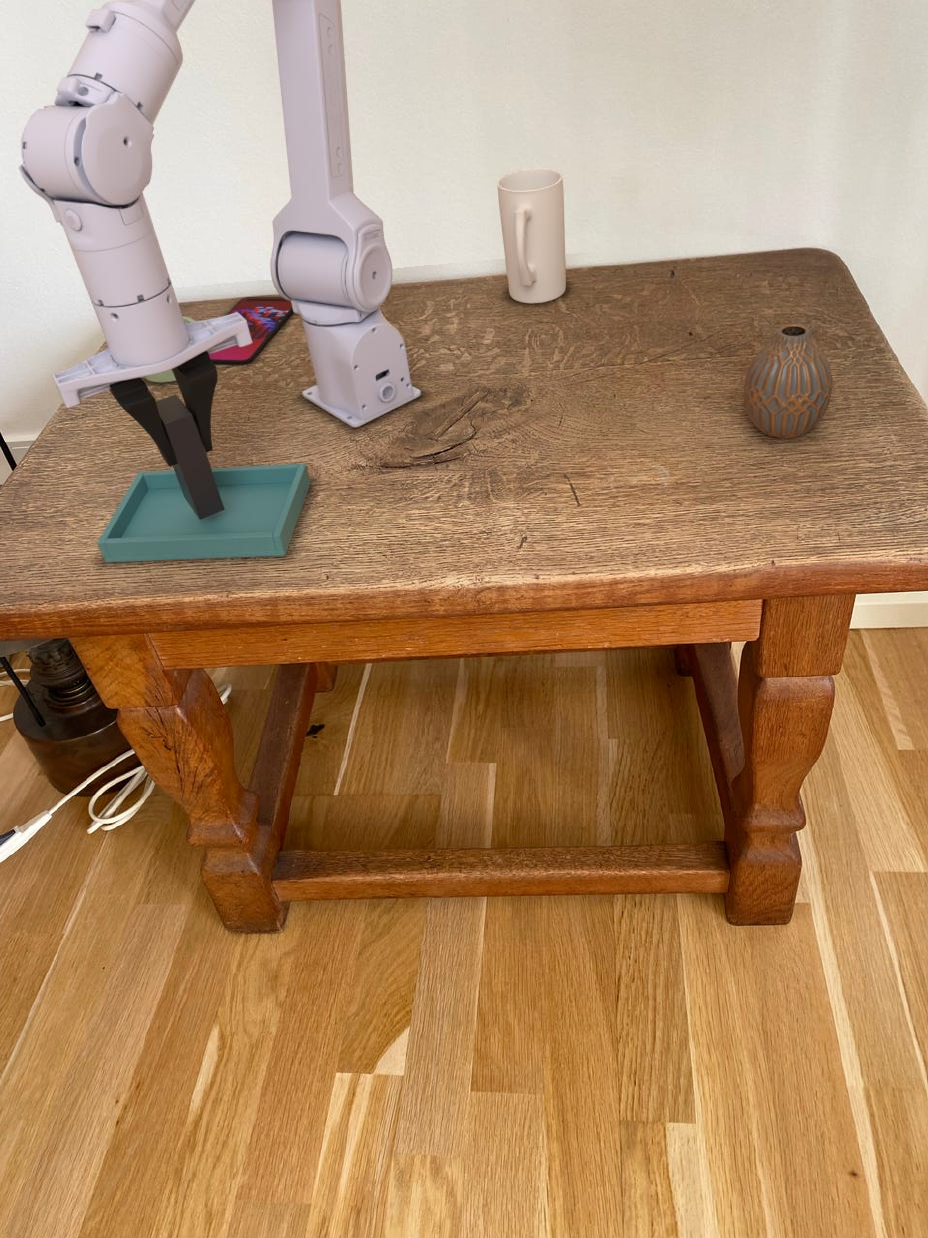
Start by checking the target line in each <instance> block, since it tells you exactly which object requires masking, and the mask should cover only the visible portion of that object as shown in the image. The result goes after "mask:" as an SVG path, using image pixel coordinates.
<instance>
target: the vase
mask: <svg viewBox="0 0 928 1238" xmlns="http://www.w3.org/2000/svg"><path fill="white" fill-rule="evenodd" d="M832 390H833V375H832V370H831V365H830V362H829V359H828V358H827V356H826V354H825V353H824V352H823V350H822V349H821V348H820V346H819V345H818V343H816V341H815V340H814V338H813V335H812V333H811V331H810V328H809V327H808V326H806V325H805V324H801V323H787V324H784V325H782V326H780V327H779V328H778V329H777V331H776V332H775V334H774V336H773V337H772V339H770V340H769V342H767V344H765V345H764V346H763V347H762V349H761V350H760V351H759V352H758V353H756V355H755V356H754V358H753V360H752V361H751V363H750V365H749V368H748V370H747V372H746V376H745V379H744V385H743V402H744V407H745V411H746V414H747V416H748V418H749V420H750V421H751V423H752V424H753V425H754V426H755V427H756V428H757V429H758V430H759V431H760V432H761V433H763V434H764V435H766V436H767V437H768V436H769V437H772V438H776V439H793V438H798V437H800V436H802V435H805V434H806V433H808V432H809V431H810V430H812V429H813V428H814V427H816V425H817V424H819V423H820V422H821V420H822V418H823V417H824V416H825V413H826V412H827V409H828V408H829V405H830V401H831V397H832V392H833V391H832Z"/></svg>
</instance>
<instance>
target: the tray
mask: <svg viewBox="0 0 928 1238" xmlns="http://www.w3.org/2000/svg"><path fill="white" fill-rule="evenodd" d="M211 468H212V474H213V477H214V480H215V482H216V485H217V488H218V491H219V494H220V497H221V500H222V503H223V506H224V508H225V510H223V511H220V512H218V513H215V514H213V515H211V516H208V517H206V518H203V519H201V520H200V519H199V518H198V516H197V515H196V514H195V512H194V511H193V509H192V508H191V506H190V505H189V503H188V502H187V501H186V499H185V498H184V495H183V492H182V490H181V487H180V484H179V482H178V479H177V476H176V474H175V471H174V469H168V470H149V471H148V470H147V471H138V472H137V474H136V475H135V477H134V478H133V481H132V482H131V485H130V486H129V488H128V490H127V491H126V493H125V494H124V496H123V498H122V500H121V502H120V504H119V505H118V507H117V508H116V510H115V512H114V513H113V515H112V517H111V518H110V520H109V521H108V524H107V525H106V527H105V529H104V530H103V532H102V533H101V536H100V538H99V539H98V541H97V543H96V544H97V546H98V548H99V550H100V552H101V555H102V557H103V559H104V561H105V563H125V562H126V563H127V562H153V561H154V562H155V561H178V560H203V559H204V560H205V559H230V558H233V559H235V558H259V557H260V558H261V557H281V556H282V557H283V556H286V555H287V553H288V549H289V546H290V543H291V542H292V538H293V535H294V532H295V529H296V526H297V523H298V521H299V518H300V515H301V512H302V509H303V507H304V504H305V501H306V498H307V495H308V492H309V489H310V486H311V483H312V481H311V478H310V477H311V476H310V473H309V469H308V465H307V463H306V462H305V463H286V464H285V463H284V464H267V465H248V466H246V465H245V466H229V467H227V466H226V467H211Z"/></svg>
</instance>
